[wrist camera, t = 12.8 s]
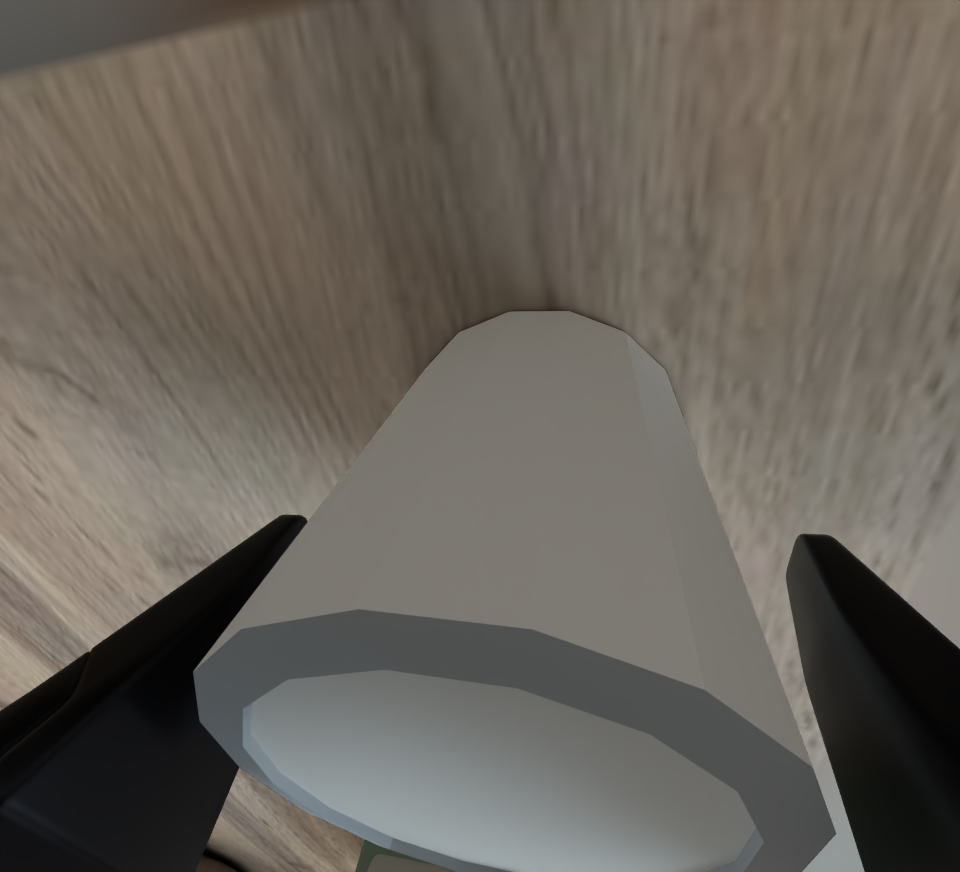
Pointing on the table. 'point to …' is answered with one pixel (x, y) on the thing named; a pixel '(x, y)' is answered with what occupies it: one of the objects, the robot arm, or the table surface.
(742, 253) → the table surface
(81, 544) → the table surface
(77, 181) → the table surface
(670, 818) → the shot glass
